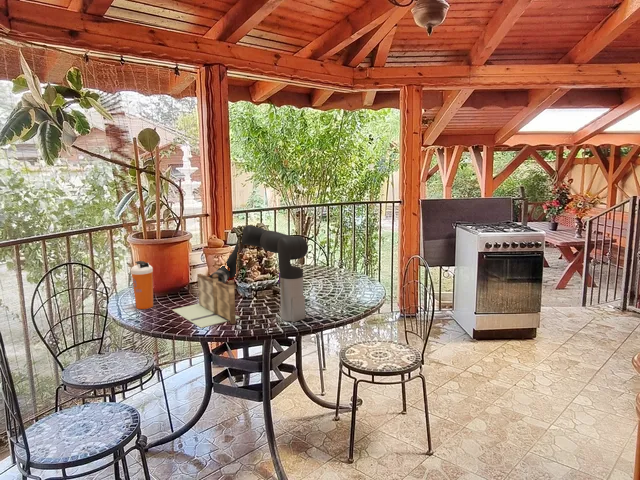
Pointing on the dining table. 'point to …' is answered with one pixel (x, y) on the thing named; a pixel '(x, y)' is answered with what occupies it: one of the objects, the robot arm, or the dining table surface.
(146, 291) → the shaker bottle
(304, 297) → the robot arm
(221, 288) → the panel
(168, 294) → the dining table surface
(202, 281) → the fence panel
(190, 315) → the card
